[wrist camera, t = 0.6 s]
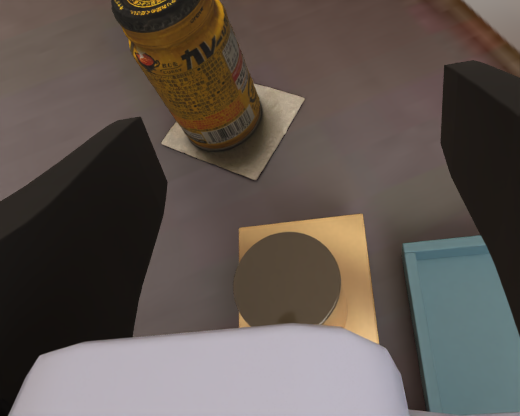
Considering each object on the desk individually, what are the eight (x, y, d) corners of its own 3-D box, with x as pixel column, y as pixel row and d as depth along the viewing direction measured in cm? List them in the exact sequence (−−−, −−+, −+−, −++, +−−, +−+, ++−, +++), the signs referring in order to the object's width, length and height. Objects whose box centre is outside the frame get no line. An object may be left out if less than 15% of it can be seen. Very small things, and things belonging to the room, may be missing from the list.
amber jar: (354, 353, 23) (346, 334, 18) (261, 358, 24) (232, 342, 19) (345, 262, 25) (335, 225, 20) (259, 270, 26) (232, 237, 21)
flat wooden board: (413, 614, 21) (417, 646, 18) (259, 606, 22) (238, 634, 19) (365, 236, 29) (362, 212, 25) (253, 248, 30) (238, 227, 27)
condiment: (211, 71, 37) (140, -70, 27) (305, 99, 34) (267, -50, 23) (162, 145, 35) (65, 24, 25) (256, 182, 32) (191, 60, 21)
